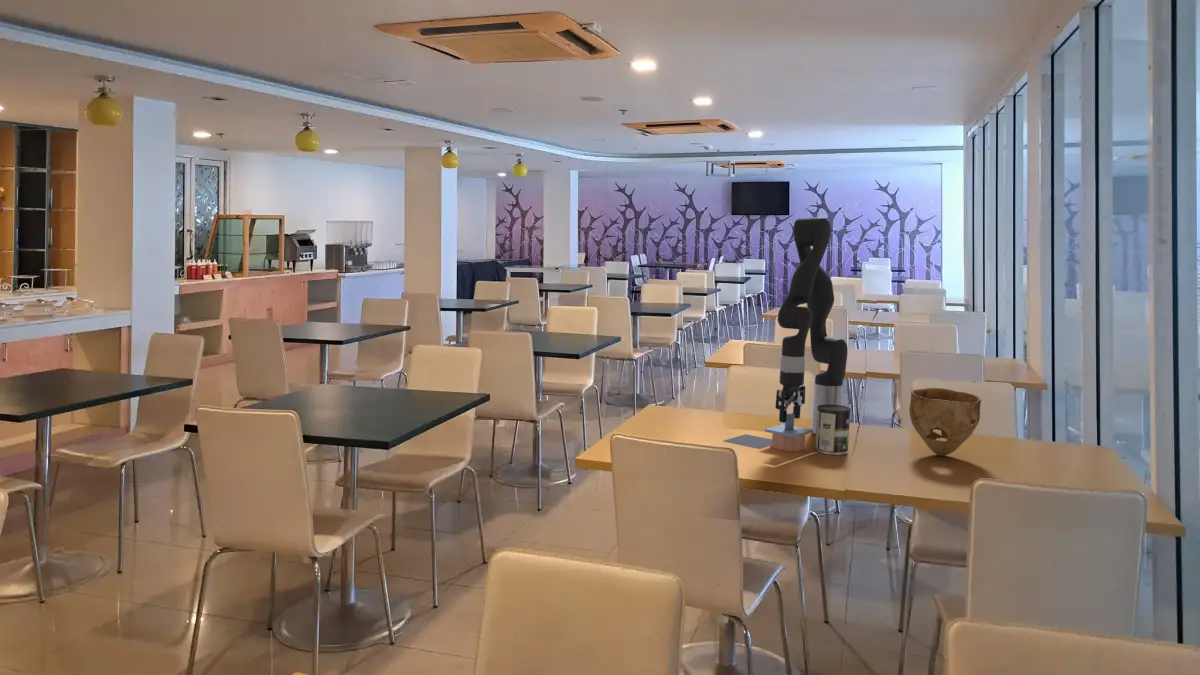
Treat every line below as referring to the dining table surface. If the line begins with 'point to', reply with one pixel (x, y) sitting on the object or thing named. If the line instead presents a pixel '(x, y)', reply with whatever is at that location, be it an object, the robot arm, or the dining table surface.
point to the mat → (750, 441)
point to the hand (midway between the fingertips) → (789, 420)
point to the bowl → (944, 417)
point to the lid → (789, 428)
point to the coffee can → (832, 429)
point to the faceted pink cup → (788, 442)
